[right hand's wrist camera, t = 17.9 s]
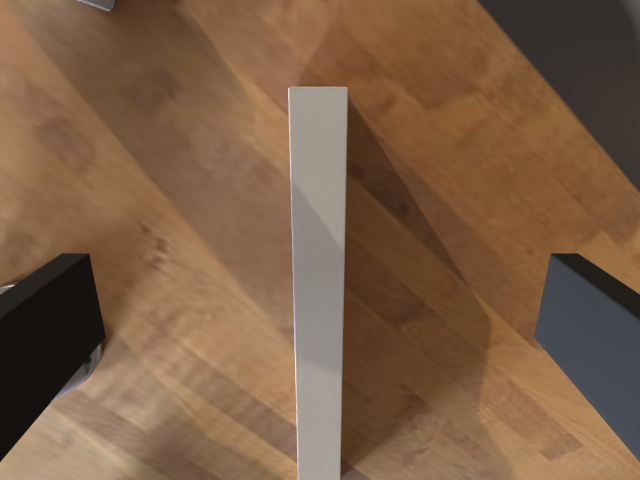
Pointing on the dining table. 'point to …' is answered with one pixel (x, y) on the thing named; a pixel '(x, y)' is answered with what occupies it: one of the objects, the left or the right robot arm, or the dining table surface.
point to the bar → (318, 272)
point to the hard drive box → (100, 4)
